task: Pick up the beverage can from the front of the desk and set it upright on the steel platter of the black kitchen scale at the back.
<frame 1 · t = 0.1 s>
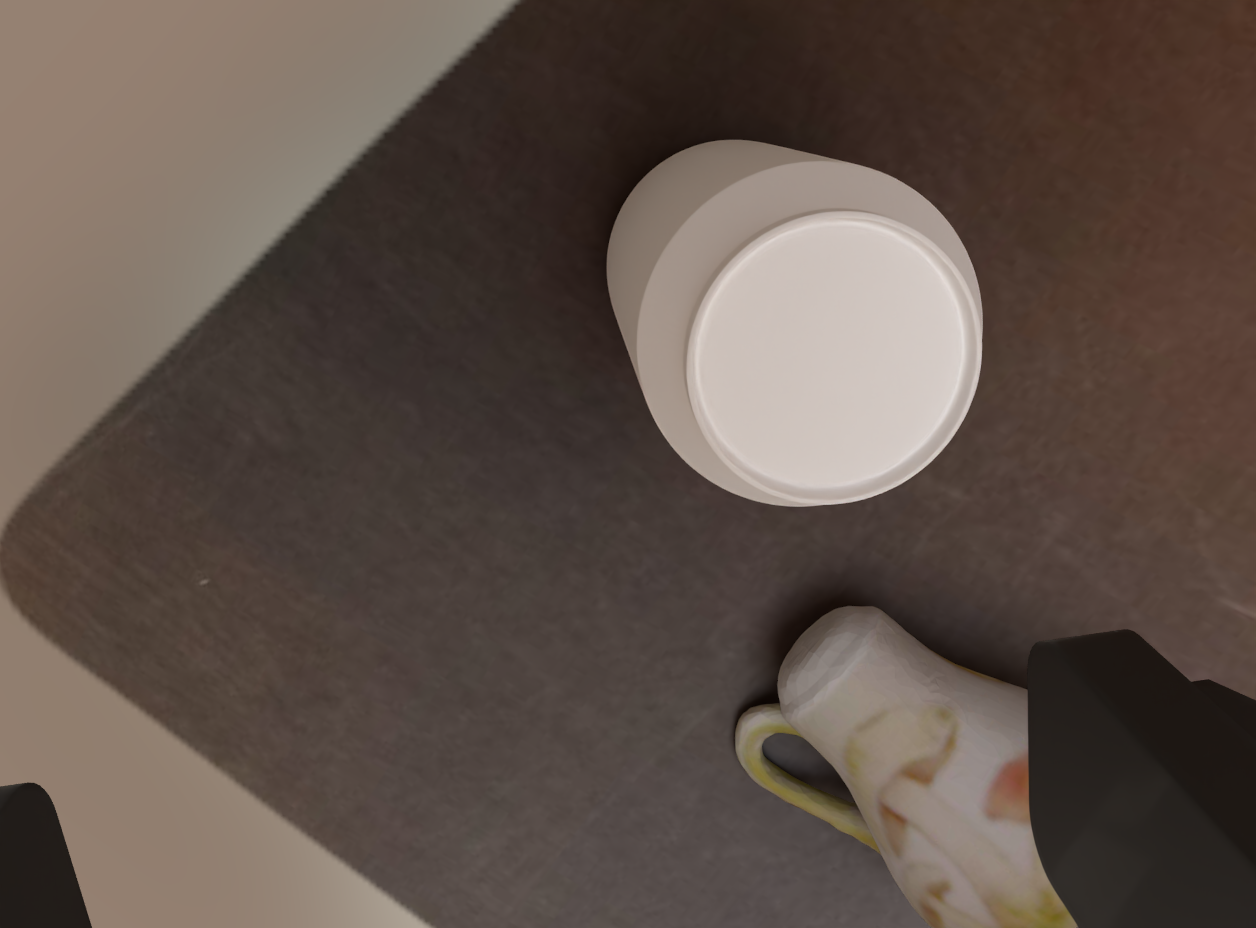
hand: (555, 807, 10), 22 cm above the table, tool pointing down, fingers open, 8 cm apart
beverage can: (721, 260, 31), on the table
mug: (896, 711, 35), on the table
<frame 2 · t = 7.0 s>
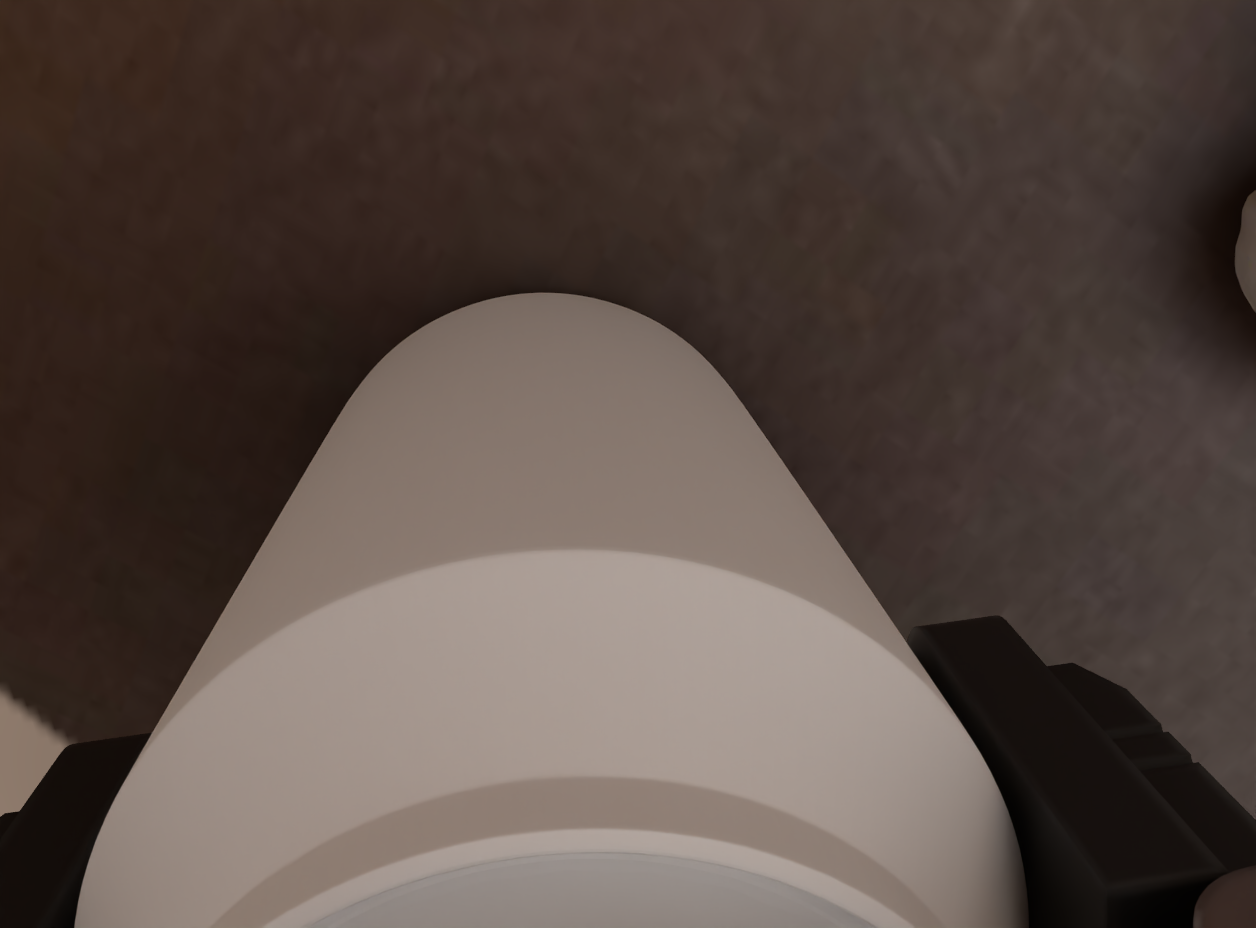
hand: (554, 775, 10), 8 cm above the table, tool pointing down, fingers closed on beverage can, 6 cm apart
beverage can: (544, 485, 18), on the table, touching gripper
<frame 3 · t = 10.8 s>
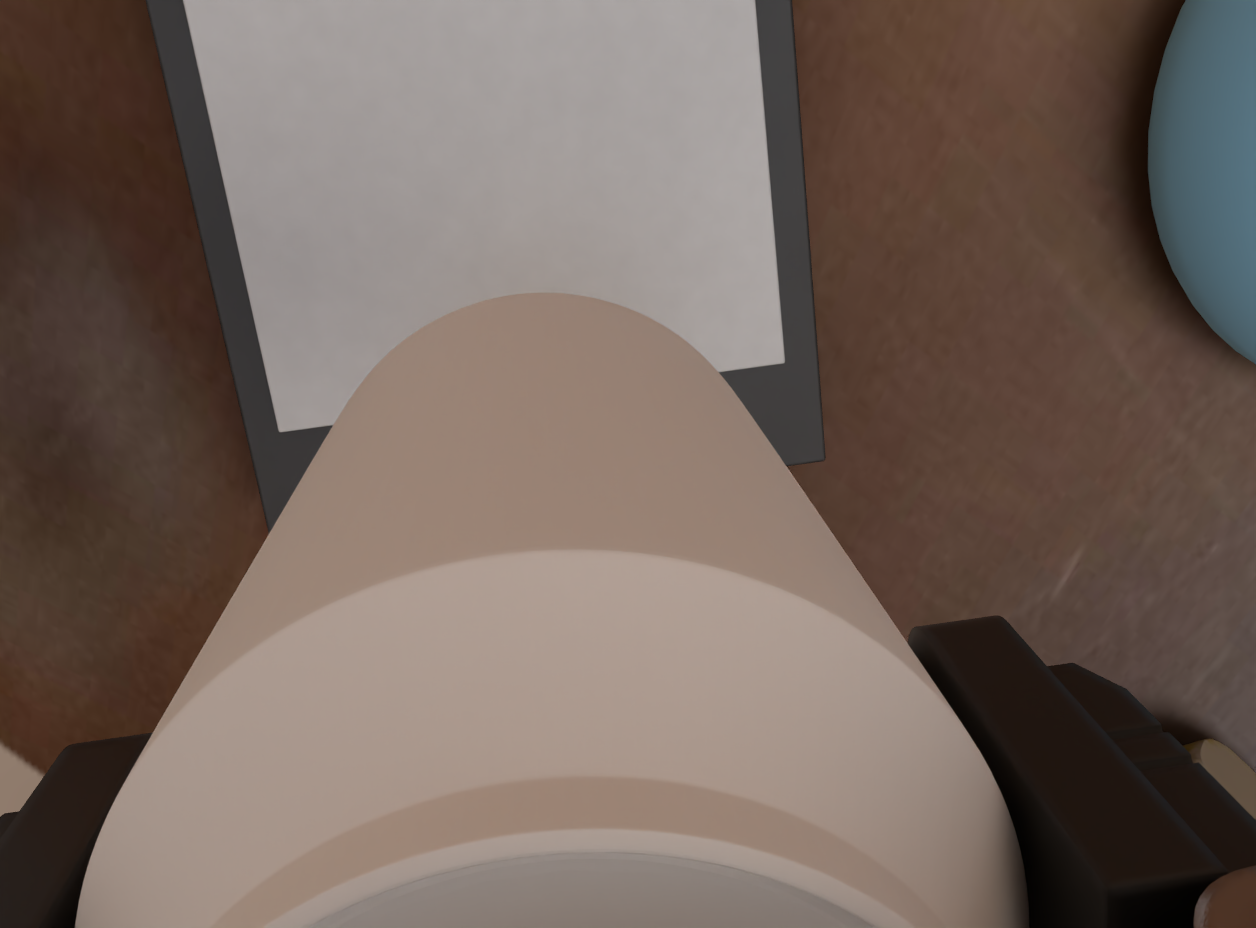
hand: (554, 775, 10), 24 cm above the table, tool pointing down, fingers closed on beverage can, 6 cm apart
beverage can: (545, 485, 18), point 16 cm above the table, touching gripper
mug: (1121, 850, 40), on the table
scale: (506, 189, 32), on the table
when the fingers open (11 cm above the table, at t = 14.6 s): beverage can stays where it is, resting on scale.
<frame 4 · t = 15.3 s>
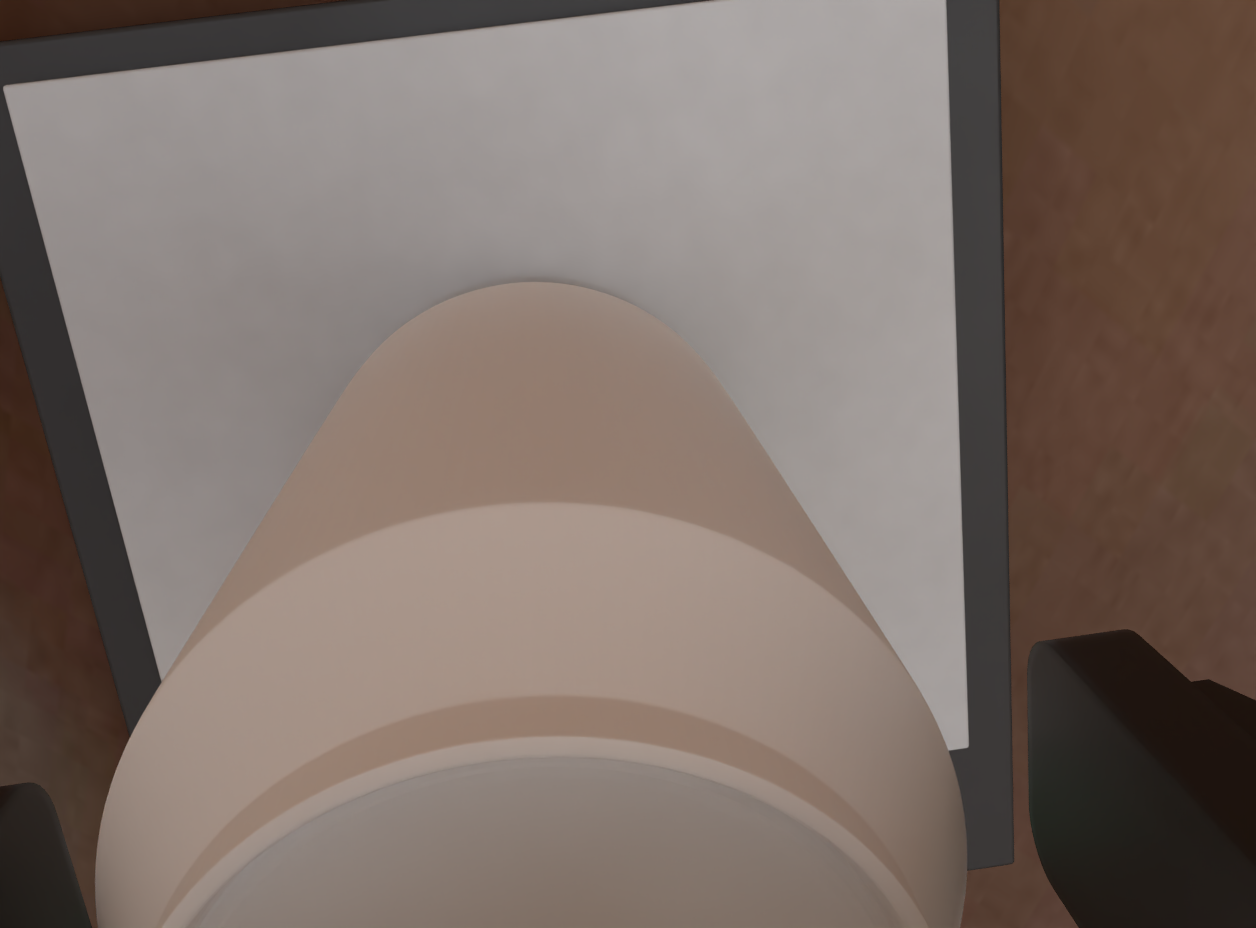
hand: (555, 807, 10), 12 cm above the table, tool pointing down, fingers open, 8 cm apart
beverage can: (537, 467, 18), point 3 cm above the table, touching scale
scale: (550, 470, 21), on the table
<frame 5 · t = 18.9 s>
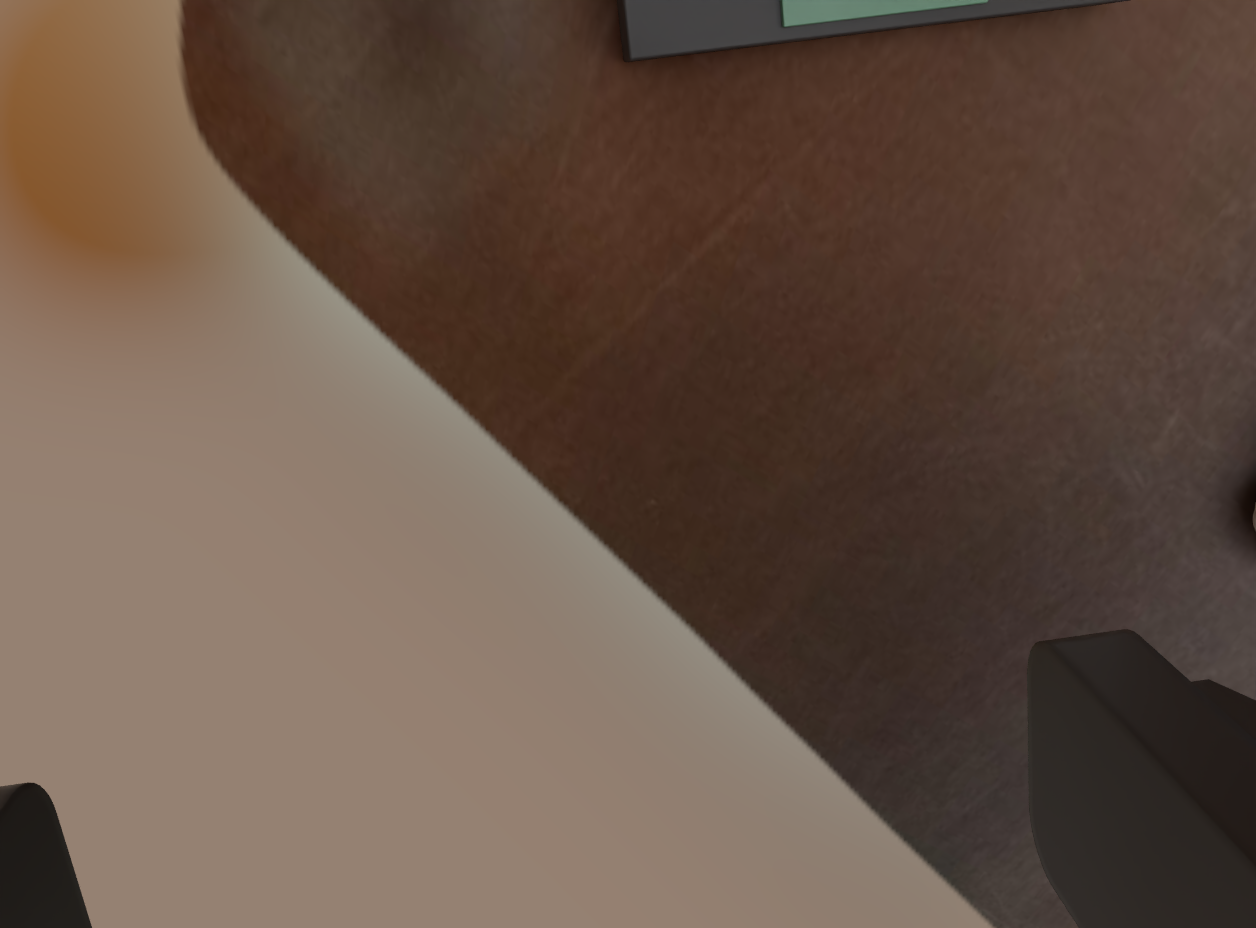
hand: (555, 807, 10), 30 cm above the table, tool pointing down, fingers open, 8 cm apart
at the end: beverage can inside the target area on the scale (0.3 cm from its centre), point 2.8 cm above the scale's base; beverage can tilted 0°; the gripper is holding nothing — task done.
